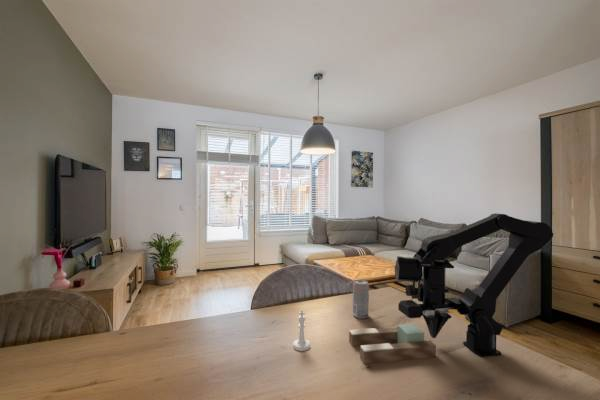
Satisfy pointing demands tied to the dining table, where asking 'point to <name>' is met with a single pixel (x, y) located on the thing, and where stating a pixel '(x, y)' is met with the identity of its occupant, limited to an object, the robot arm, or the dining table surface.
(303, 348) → the chess piece
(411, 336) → the block
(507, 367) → the dining table surface
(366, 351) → the chute
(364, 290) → the energy drink
